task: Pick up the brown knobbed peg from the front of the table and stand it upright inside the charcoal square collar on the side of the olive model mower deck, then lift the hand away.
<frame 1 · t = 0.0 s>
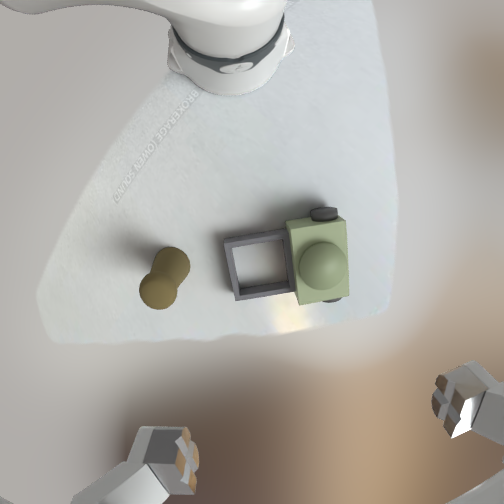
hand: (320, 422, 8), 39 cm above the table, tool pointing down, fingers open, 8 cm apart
mower deck: (260, 262, 48), on the table
brown knobbed peg: (172, 264, 48), on the table
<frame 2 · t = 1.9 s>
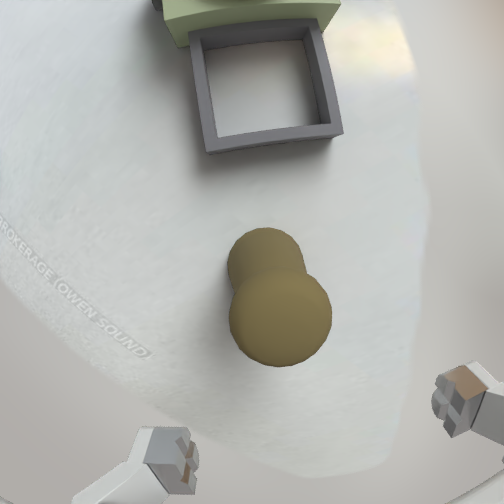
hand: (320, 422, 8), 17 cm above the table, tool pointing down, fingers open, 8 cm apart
mower deck: (262, 85, 20), on the table
brown knobbed peg: (265, 264, 24), on the table
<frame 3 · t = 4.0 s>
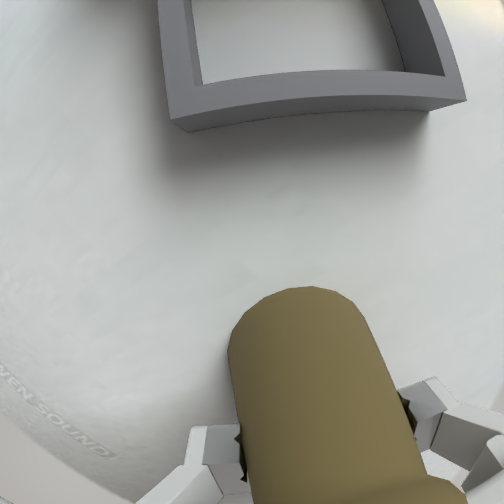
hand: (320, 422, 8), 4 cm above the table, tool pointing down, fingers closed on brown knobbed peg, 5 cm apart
mower deck: (296, 5, 9), on the table
brown knobbed peg: (300, 351, 12), on the table, touching gripper
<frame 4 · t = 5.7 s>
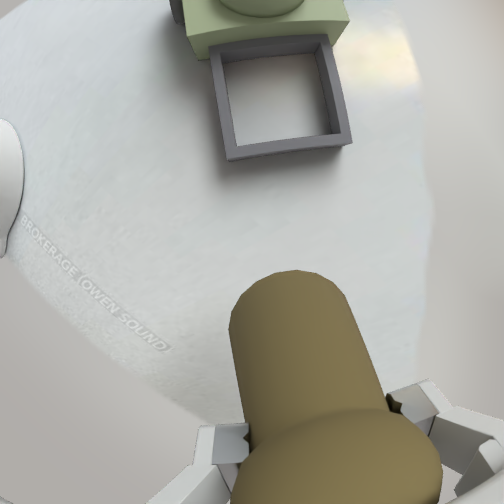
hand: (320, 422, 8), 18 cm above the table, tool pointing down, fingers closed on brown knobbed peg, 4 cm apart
mower deck: (277, 97, 22), on the table
brown knobbed peg: (291, 327, 14), point 12 cm above the table, touching gripper
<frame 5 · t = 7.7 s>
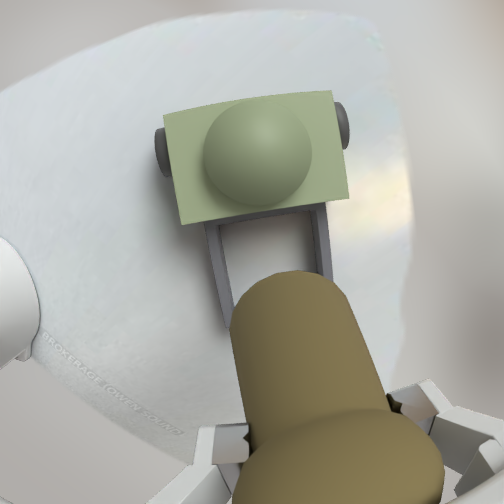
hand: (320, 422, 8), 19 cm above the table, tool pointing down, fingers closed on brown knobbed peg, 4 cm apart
mower deck: (270, 258, 27), on the table
brown knobbed peg: (291, 328, 14), point 13 cm above the table, touching gripper
when the fingers open (7 cm above the table, at t = 9.7 s): brown knobbed peg stays where it is, resting in mower deck.
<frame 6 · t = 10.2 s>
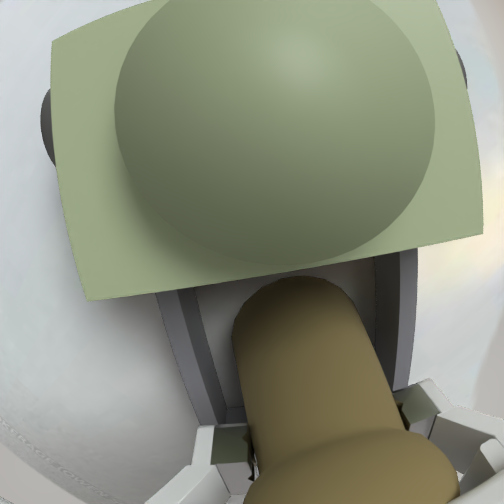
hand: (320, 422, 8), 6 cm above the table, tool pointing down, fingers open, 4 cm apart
mower deck: (294, 335, 13), on the table
brown knobbed peg: (296, 335, 14), resting in mower deck, touching gripper
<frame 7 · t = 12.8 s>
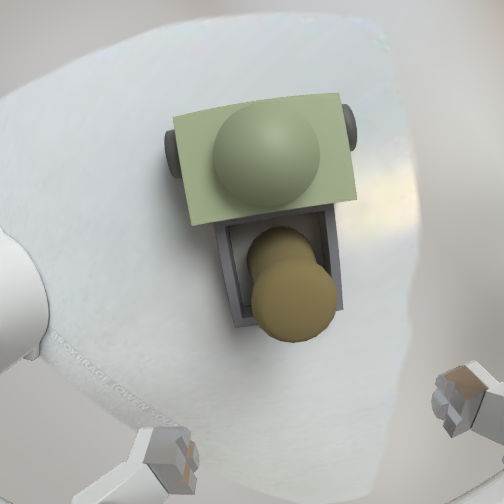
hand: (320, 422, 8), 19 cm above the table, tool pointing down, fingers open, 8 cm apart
mower deck: (279, 259, 27), on the table
brown knobbed peg: (280, 259, 27), resting in mower deck
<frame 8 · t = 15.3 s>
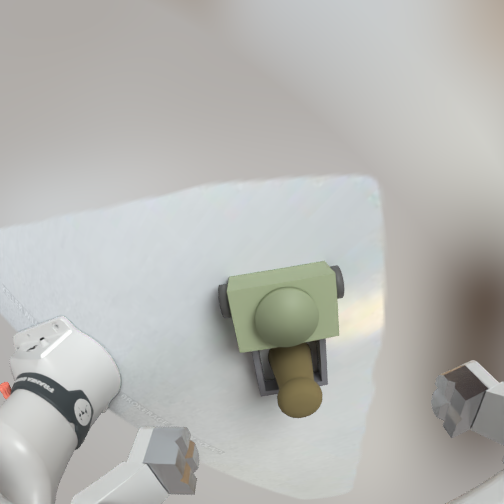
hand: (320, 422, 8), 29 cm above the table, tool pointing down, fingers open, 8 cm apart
mower deck: (289, 354, 40), on the table
brown knobbed peg: (289, 354, 40), resting in mower deck
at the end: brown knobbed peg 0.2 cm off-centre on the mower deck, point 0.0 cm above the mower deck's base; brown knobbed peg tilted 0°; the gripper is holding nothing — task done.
